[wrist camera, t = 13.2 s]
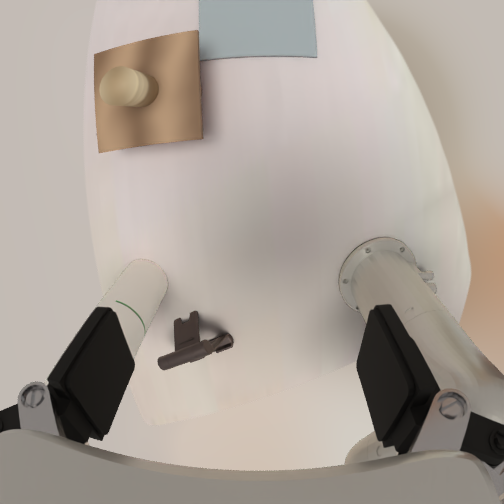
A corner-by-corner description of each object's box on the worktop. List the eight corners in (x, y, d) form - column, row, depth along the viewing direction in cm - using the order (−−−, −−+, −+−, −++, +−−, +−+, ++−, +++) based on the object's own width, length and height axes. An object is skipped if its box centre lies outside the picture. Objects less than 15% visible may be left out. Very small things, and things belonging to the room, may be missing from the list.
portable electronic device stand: (192, 354, 49) (183, 390, 41) (164, 324, 46) (150, 359, 38) (234, 338, 47) (229, 376, 39) (206, 305, 44) (197, 341, 36)
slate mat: (308, -29, 23) (309, -31, 22) (316, 57, 29) (317, 56, 28) (199, -26, 23) (199, -27, 23) (200, 60, 29) (199, 60, 29)
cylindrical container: (121, 258, 41) (27, 379, 18) (164, 259, 41) (86, 399, 18) (129, 298, 44) (58, 422, 21) (170, 301, 44) (114, 440, 21)
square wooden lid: (199, 32, 23) (183, 10, 17) (203, 138, 28) (187, 143, 22) (97, 55, 23) (64, 45, 17) (102, 152, 28) (68, 162, 22)
